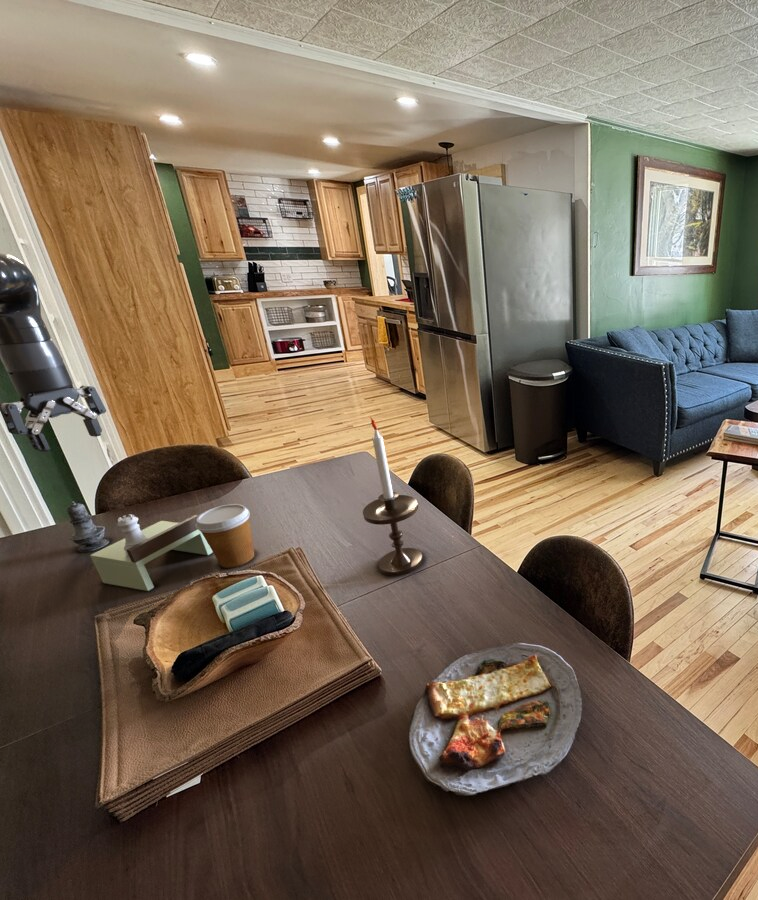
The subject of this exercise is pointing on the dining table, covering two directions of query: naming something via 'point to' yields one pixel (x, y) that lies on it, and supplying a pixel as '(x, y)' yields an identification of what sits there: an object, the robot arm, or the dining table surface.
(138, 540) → the rook chess piece
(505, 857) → the dining table surface
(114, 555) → the shelf
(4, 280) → the robot arm
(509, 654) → the food plate
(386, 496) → the candlestick
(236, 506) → the disposable coffee cup
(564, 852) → the dining table surface
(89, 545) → the grey upright piece
